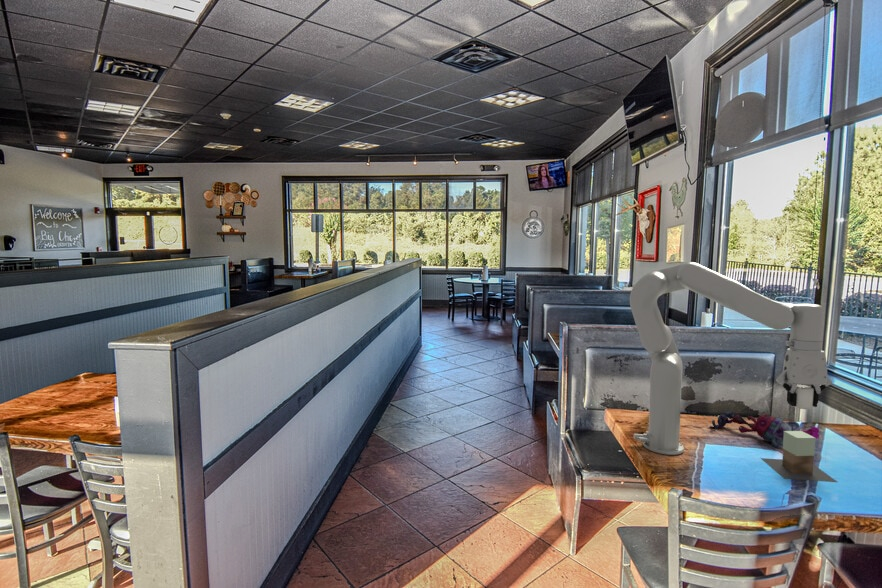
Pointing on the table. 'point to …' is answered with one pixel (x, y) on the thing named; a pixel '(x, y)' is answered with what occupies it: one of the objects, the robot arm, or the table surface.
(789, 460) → the block bottom
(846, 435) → the table surface
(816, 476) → the mat
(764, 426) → the toy
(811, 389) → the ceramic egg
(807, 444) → the block top
